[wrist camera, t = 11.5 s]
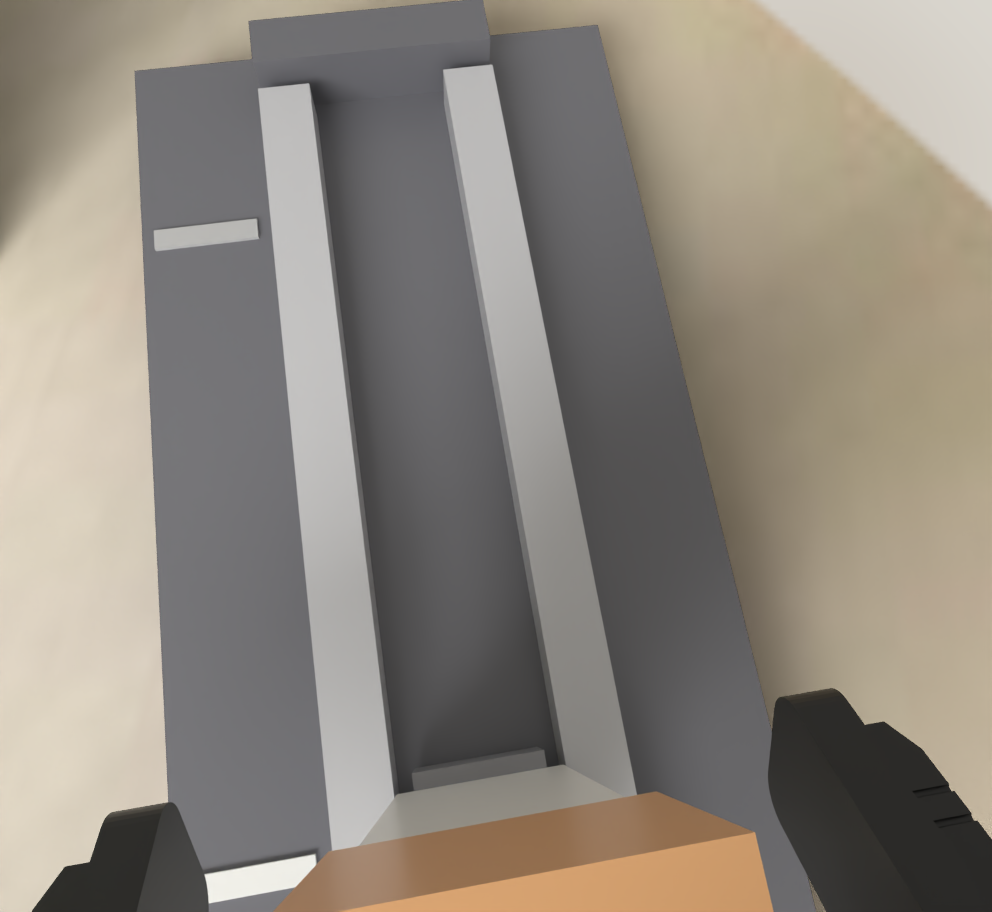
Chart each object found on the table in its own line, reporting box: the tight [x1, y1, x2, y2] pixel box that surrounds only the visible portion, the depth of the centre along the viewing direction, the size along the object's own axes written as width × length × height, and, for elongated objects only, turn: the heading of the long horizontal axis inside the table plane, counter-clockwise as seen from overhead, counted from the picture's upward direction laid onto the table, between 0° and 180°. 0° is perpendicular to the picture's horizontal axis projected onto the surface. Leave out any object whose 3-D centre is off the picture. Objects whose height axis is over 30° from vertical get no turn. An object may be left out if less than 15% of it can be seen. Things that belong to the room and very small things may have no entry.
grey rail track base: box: [135, 0, 816, 912], centre depth 18 cm, size 24×12×4 cm, turn 9°
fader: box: [273, 747, 774, 912], centre depth 10 cm, size 3×3×11 cm
